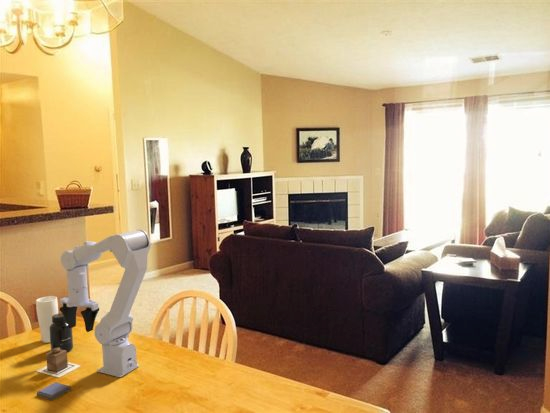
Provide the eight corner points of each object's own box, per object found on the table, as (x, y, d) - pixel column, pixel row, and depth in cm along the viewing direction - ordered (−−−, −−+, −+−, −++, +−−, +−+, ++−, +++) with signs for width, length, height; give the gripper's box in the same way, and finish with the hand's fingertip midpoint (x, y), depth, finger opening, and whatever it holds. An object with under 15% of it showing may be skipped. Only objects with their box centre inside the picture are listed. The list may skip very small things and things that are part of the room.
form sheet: (81, 366, 142) (81, 365, 142) (59, 377, 135) (59, 377, 135) (58, 360, 147) (58, 359, 147) (35, 371, 140) (35, 370, 140)
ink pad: (70, 389, 128) (70, 385, 128) (52, 400, 123) (51, 396, 123) (55, 385, 131) (55, 381, 131) (36, 395, 125) (36, 391, 125)
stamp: (67, 367, 142) (66, 347, 141) (57, 372, 138) (55, 352, 137) (58, 364, 143) (56, 345, 142) (47, 370, 140) (45, 350, 139)
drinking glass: (64, 338, 164) (61, 297, 162) (46, 345, 158) (43, 303, 156) (53, 335, 167) (50, 294, 166) (35, 341, 162) (31, 300, 160)
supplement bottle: (67, 354, 151) (64, 319, 150) (47, 354, 151) (44, 319, 150) (77, 345, 158) (74, 311, 156) (57, 345, 158) (54, 311, 156)
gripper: (50, 288, 144) (54, 330, 146) (84, 293, 138) (87, 337, 139) (69, 282, 150) (72, 322, 152) (102, 287, 144) (105, 328, 146)
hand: (80, 329), depth 146 cm, fingers open, 7 cm apart
